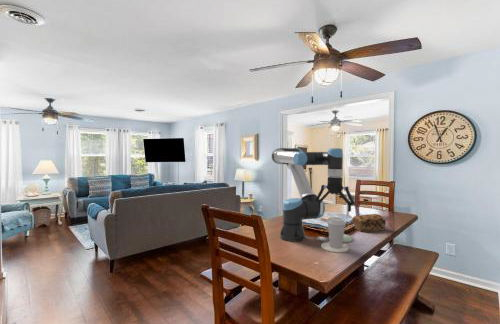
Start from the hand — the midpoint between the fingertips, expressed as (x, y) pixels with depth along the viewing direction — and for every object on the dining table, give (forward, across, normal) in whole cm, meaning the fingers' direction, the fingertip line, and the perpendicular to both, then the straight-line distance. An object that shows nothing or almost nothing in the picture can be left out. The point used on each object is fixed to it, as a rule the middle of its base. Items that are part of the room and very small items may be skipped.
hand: (334, 215), depth 135 cm
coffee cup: (+17, +1, 0) cm, 17 cm away
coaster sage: (+18, 0, +18) cm, 25 cm away
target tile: (+18, -8, +10) cm, 22 cm away
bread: (+18, +13, +47) cm, 52 cm away
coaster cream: (+17, 0, 0) cm, 17 cm away
